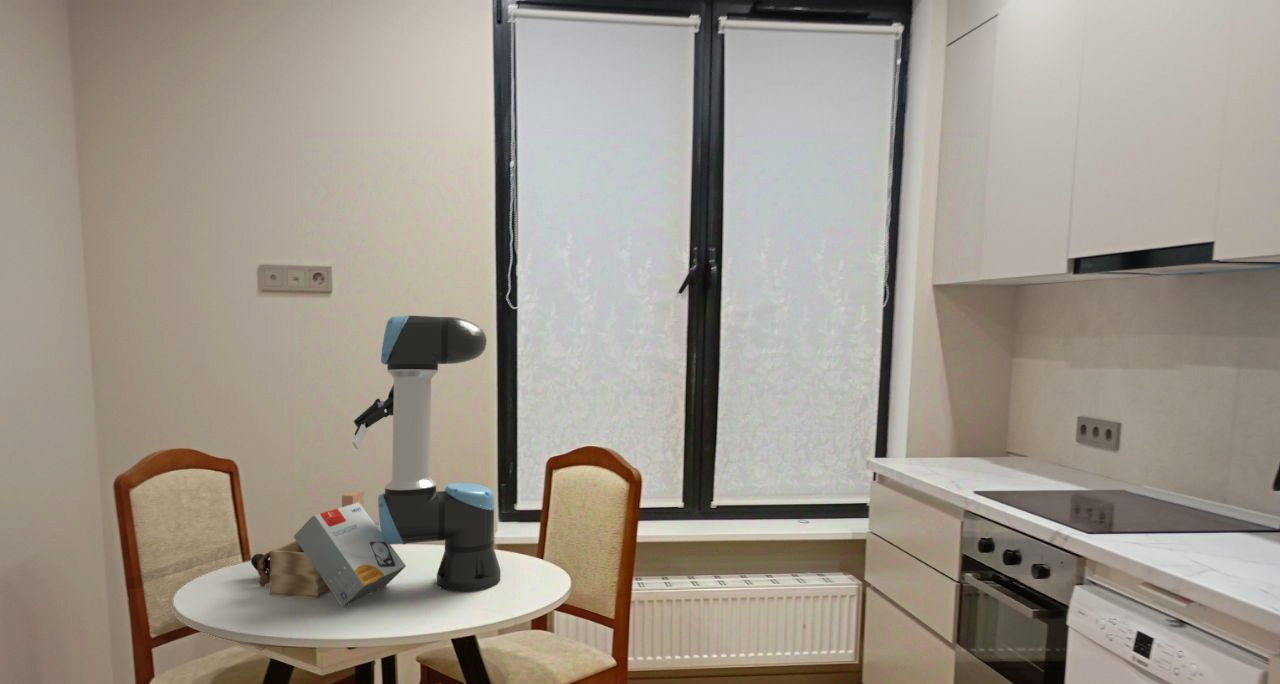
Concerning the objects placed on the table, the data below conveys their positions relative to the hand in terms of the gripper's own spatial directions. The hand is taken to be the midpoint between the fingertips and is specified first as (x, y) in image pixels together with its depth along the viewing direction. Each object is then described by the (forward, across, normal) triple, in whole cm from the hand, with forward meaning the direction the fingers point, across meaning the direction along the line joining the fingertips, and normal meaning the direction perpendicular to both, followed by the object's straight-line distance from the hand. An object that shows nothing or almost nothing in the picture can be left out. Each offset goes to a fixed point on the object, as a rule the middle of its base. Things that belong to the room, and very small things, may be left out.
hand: (378, 446), depth 182 cm
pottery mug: (+37, +14, -5) cm, 40 cm away
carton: (+39, +2, -4) cm, 39 cm away
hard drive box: (+40, -17, +1) cm, 44 cm away
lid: (+24, +2, -4) cm, 24 cm away
